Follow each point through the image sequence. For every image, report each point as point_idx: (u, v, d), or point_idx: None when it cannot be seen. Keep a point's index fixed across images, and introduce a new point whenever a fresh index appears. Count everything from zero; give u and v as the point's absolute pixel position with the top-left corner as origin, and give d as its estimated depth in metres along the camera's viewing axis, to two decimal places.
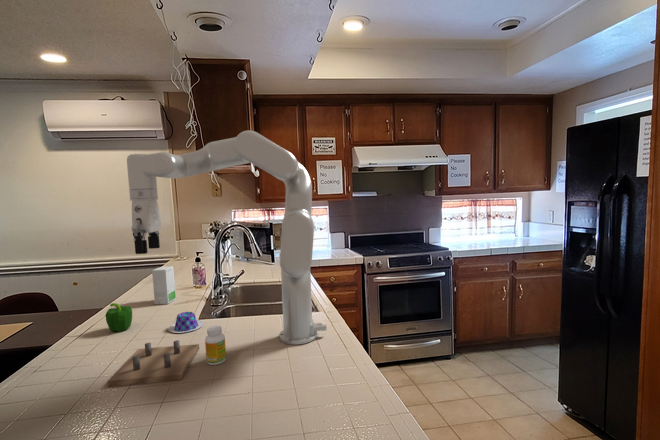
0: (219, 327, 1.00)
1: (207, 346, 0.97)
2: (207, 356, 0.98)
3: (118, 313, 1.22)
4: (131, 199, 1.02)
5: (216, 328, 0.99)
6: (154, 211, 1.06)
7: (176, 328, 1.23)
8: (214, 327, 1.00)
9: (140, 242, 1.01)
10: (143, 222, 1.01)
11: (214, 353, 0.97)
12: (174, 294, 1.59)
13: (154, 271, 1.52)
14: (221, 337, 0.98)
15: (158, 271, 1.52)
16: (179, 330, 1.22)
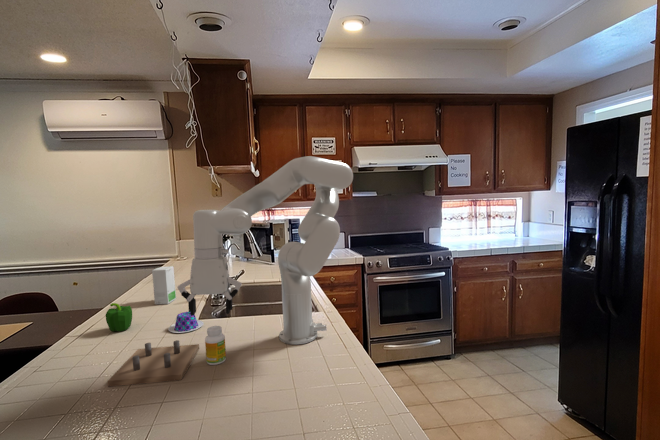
0: (219, 327, 1.00)
1: (207, 346, 0.97)
2: (207, 356, 0.98)
3: (118, 313, 1.22)
4: (217, 258, 0.95)
5: (216, 328, 0.99)
6: None
7: (176, 328, 1.23)
8: (214, 327, 1.00)
9: (231, 299, 0.99)
10: None
11: (214, 353, 0.97)
12: (174, 294, 1.59)
13: (154, 271, 1.52)
14: (221, 337, 0.98)
15: (158, 271, 1.52)
16: (179, 330, 1.22)
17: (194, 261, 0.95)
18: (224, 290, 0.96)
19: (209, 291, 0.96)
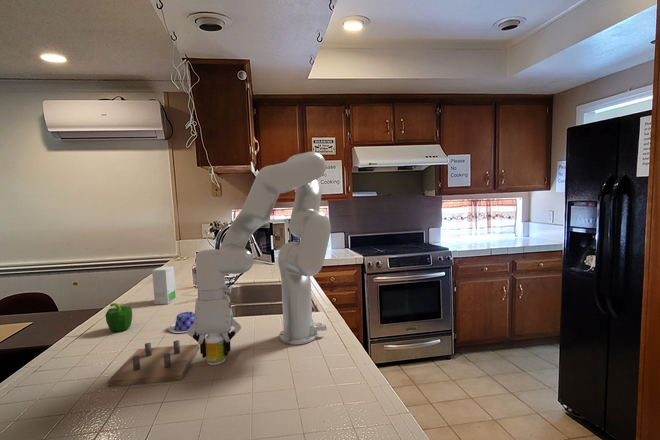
0: None
1: (207, 346, 0.97)
2: (207, 356, 0.98)
3: (118, 313, 1.22)
4: (220, 299, 0.96)
5: None
6: None
7: (176, 328, 1.23)
8: None
9: (229, 341, 1.00)
10: (232, 317, 1.01)
11: (214, 353, 0.97)
12: (174, 294, 1.59)
13: (154, 271, 1.52)
14: (221, 337, 0.98)
15: (158, 271, 1.52)
16: (180, 330, 1.22)
17: (198, 302, 0.96)
18: (228, 329, 0.98)
19: (213, 330, 0.97)
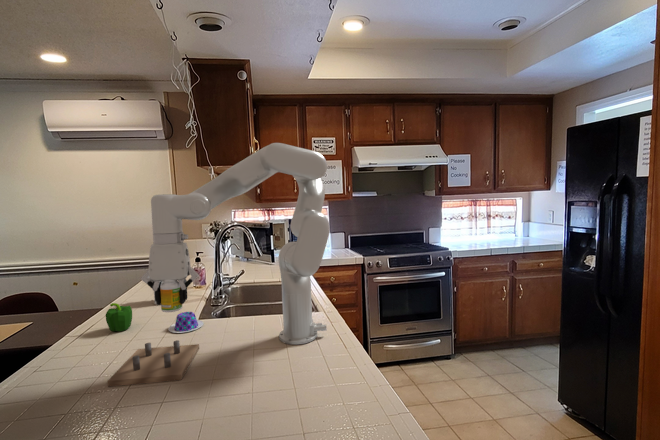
0: None
1: (162, 292, 0.94)
2: (162, 303, 0.95)
3: (118, 313, 1.22)
4: (176, 243, 0.93)
5: None
6: None
7: (177, 328, 1.23)
8: None
9: (186, 289, 0.97)
10: (190, 265, 0.98)
11: (169, 300, 0.94)
12: None
13: None
14: (177, 284, 0.96)
15: None
16: (180, 330, 1.22)
17: (152, 246, 0.93)
18: (184, 276, 0.95)
19: (168, 277, 0.94)
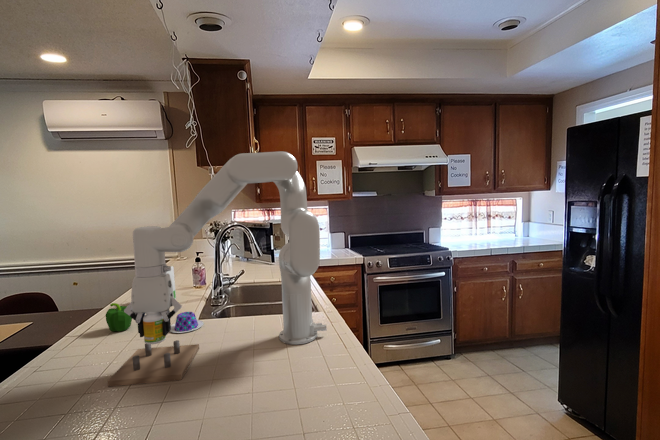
0: None
1: (144, 325, 0.95)
2: (144, 335, 0.95)
3: (118, 313, 1.22)
4: (158, 276, 0.94)
5: None
6: None
7: (177, 328, 1.23)
8: None
9: (169, 321, 0.98)
10: (173, 296, 0.98)
11: (152, 332, 0.94)
12: (174, 294, 1.59)
13: None
14: (159, 316, 0.96)
15: None
16: (181, 330, 1.22)
17: (134, 279, 0.93)
18: (167, 308, 0.95)
19: (150, 309, 0.94)
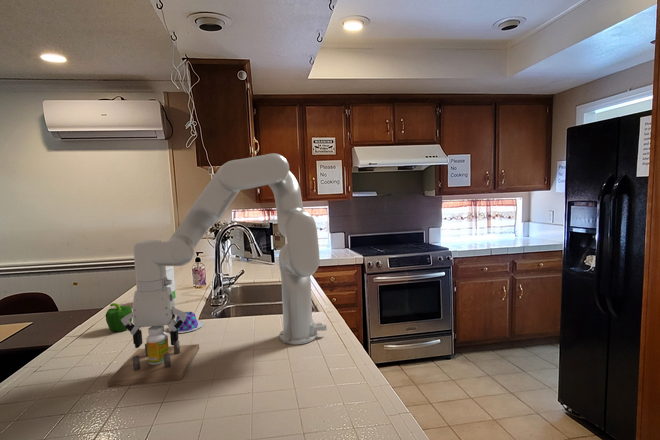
0: (161, 326, 0.98)
1: (148, 345, 0.95)
2: (148, 356, 0.96)
3: (118, 313, 1.22)
4: (159, 290, 0.94)
5: (158, 328, 0.97)
6: None
7: None
8: (156, 326, 0.98)
9: (177, 330, 0.98)
10: None
11: (155, 353, 0.95)
12: (174, 294, 1.59)
13: None
14: (163, 336, 0.96)
15: None
16: (181, 330, 1.22)
17: (136, 294, 0.94)
18: (168, 321, 0.96)
19: (152, 323, 0.95)
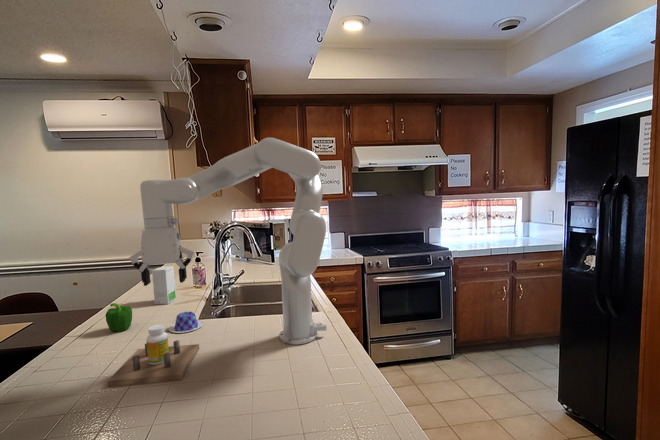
0: (161, 326, 0.98)
1: (148, 345, 0.95)
2: (148, 356, 0.96)
3: (118, 313, 1.22)
4: (166, 228, 0.96)
5: (158, 327, 0.97)
6: None
7: (178, 328, 1.23)
8: (156, 326, 0.98)
9: (185, 269, 1.00)
10: None
11: (155, 353, 0.95)
12: (174, 294, 1.59)
13: (154, 271, 1.52)
14: (163, 336, 0.96)
15: (158, 271, 1.52)
16: (182, 330, 1.22)
17: (144, 231, 0.95)
18: (176, 259, 0.97)
19: (160, 260, 0.96)
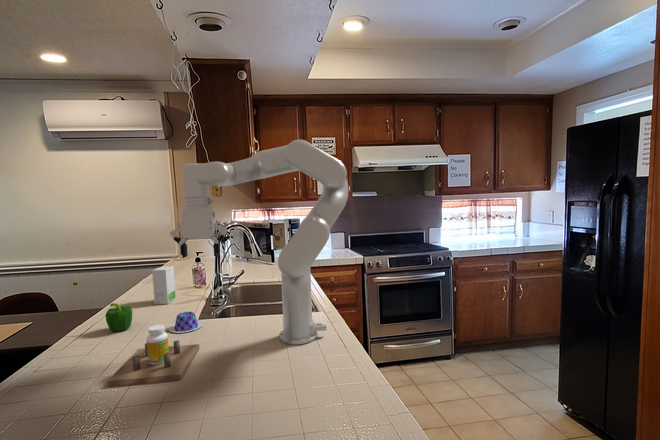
0: (161, 326, 0.98)
1: (148, 345, 0.95)
2: (148, 356, 0.96)
3: (118, 313, 1.22)
4: (204, 206, 1.07)
5: (158, 328, 0.97)
6: None
7: (178, 328, 1.23)
8: (156, 326, 0.98)
9: None
10: None
11: (155, 353, 0.95)
12: (174, 294, 1.59)
13: (154, 271, 1.52)
14: (163, 336, 0.96)
15: (158, 271, 1.52)
16: (182, 330, 1.22)
17: (184, 209, 1.07)
18: (212, 235, 1.09)
19: (198, 235, 1.08)
